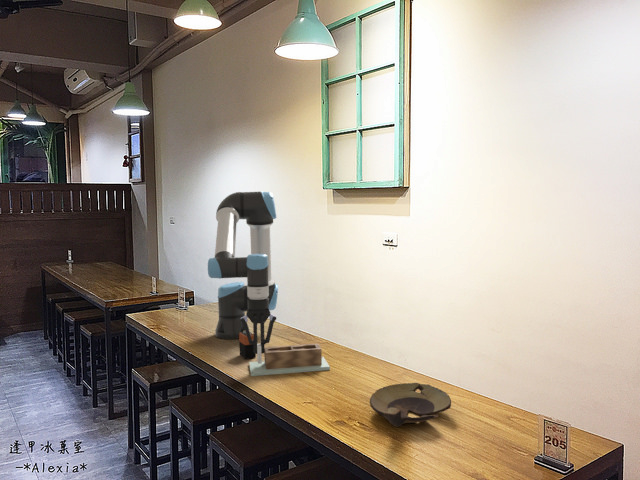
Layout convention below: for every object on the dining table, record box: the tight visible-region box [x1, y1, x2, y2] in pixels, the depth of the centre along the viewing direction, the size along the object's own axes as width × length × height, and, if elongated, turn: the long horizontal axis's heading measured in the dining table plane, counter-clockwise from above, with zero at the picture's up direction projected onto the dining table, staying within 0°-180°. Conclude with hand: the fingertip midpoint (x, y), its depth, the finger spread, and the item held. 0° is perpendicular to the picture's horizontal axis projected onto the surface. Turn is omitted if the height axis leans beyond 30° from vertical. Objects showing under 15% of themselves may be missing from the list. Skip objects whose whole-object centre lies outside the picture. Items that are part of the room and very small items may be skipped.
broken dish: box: [369, 382, 452, 428], centre depth 150 cm, size 22×30×8 cm
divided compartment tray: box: [263, 343, 323, 369], centre depth 194 cm, size 20×7×6 cm, turn 101°
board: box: [248, 356, 331, 377], centre depth 194 cm, size 28×12×4 cm, turn 101°
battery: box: [238, 330, 257, 360], centre depth 208 cm, size 4×7×10 cm, turn 29°
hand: (259, 362), depth 192 cm, fingers closed
